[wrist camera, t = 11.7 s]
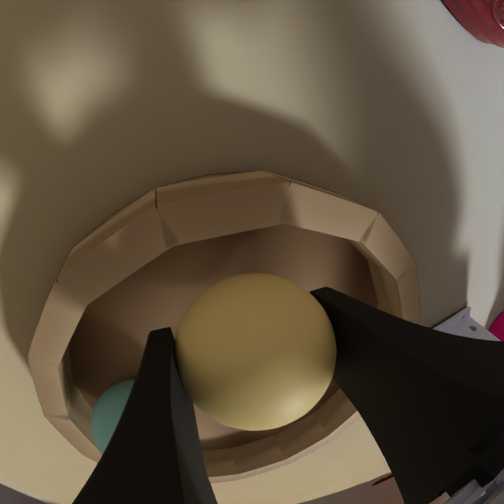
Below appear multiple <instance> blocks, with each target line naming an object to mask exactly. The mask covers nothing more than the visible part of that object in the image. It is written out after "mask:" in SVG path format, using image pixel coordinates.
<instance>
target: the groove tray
mask: <svg viewBox="0 0 504 504" xmlns="http://www.w3.org/2000/svg"><path fill="white" fill-rule="evenodd" d="M245 273H265V274H272V275H276V276H279V277H282V278H285V279H288V280H290V281H292V282H294V283H296V284H298V285H299V286H301V287H303V288H304V289H305V290H307V291H308V292H309V293H310V291H312V290H316V289H319V288H323V287H326V286H327V287H329V288H332V289H334V290H337V291H339V292H342V293H344V294H346V295H348V296H350V297H353V298H355V299H357V300H359V301H361V302H364V303H366V304H368V305H370V306H373V307H375V308H377V309H380V310H382V311H384V312H387V313H389V314H392V315H394V316H396V317H399V318H402V319H404V320H407V321H410V322H412V323H415V324H417V322H418V319H419V316H420V302H419V288H418V277H417V267H416V262H415V260H414V258H413V257H412V255H411V254H410V252H409V251H408V250H407V248H406V247H405V246H404V244H403V243H402V241H401V240H400V239H399V237H398V236H397V235H396V233H395V232H394V231H393V229H392V228H391V227H390V226H389V224H388V223H387V222H386V220H385V219H384V218H383V217H382V215H381V214H380V213H379V212H378V211H375V210H373V209H371V208H369V207H367V206H365V205H363V204H360V203H358V202H356V201H354V200H351V199H349V198H347V197H345V196H342V195H339V194H337V193H334V192H331V191H328V190H325V189H322V188H319V187H316V186H313V185H310V184H307V183H305V182H302V181H300V180H295V179H291V178H288V177H284V176H281V175H278V174H274V173H271V172H268V171H264V170H259V171H252V172H235V173H223V174H212V175H205V176H201V177H197V178H192V179H188V180H184V181H180V182H176V183H173V184H170V185H168V186H163V187H158V188H156V190H155V189H153V190H152V191H150V192H149V193H147V194H146V195H144V196H141V197H140V198H138V199H136V200H135V201H133V202H131V203H130V204H128V205H127V206H125V207H123V208H122V209H120V210H118V211H117V212H115V213H114V214H112V215H111V216H110V217H109V218H108V219H106V220H105V221H104V222H103V223H102V224H101V225H99V226H98V227H97V228H96V229H95V230H94V231H93V232H91V233H90V234H89V235H88V236H87V237H86V238H85V239H84V240H83V241H81V242H80V243H79V244H78V245H76V246H75V247H74V248H73V249H72V250H71V252H70V253H69V255H68V257H67V259H66V261H65V262H64V264H63V266H62V268H61V270H60V272H59V274H58V276H57V278H56V280H55V282H54V284H53V286H52V289H51V291H50V294H49V296H48V299H47V301H46V304H45V306H44V309H43V312H42V314H41V317H40V320H39V323H38V325H37V328H36V331H35V334H34V337H33V340H32V343H31V346H30V350H29V353H28V357H27V358H28V362H29V366H30V370H31V374H32V378H33V382H34V385H35V389H36V392H37V395H38V399H39V402H40V405H41V408H42V411H43V414H44V415H45V417H46V418H47V419H48V421H49V422H50V423H51V424H52V425H53V426H54V427H55V428H56V429H57V430H58V431H59V432H60V433H61V434H62V435H63V436H64V437H65V438H66V439H67V440H68V441H69V442H70V443H71V444H72V445H73V446H74V447H75V448H76V449H77V450H78V451H79V452H80V453H81V454H82V455H84V456H86V457H88V458H90V459H92V460H94V461H96V462H99V460H100V458H101V456H102V454H101V453H100V451H99V450H98V448H97V446H96V444H95V442H94V439H93V436H92V431H91V416H92V411H93V408H94V405H95V403H96V402H97V400H98V398H99V397H100V396H101V395H102V394H103V393H104V392H105V391H106V390H107V389H108V388H110V387H111V386H113V385H115V384H117V383H120V382H122V381H126V380H134V379H135V378H136V375H137V372H138V369H139V366H140V363H141V359H142V356H143V353H144V349H145V345H146V342H147V337H148V334H149V333H150V331H152V330H157V329H162V328H166V327H171V330H172V333H173V336H174V339H176V334H177V330H178V327H179V324H180V322H181V320H182V317H183V315H184V314H185V312H186V310H187V309H188V307H189V306H190V305H191V303H192V302H193V301H194V300H195V299H196V298H197V297H198V296H199V295H200V294H201V293H202V292H203V291H204V290H206V289H207V288H209V287H210V286H212V285H213V284H215V283H217V282H219V281H221V280H223V279H226V278H228V277H232V276H235V275H240V274H245ZM193 404H194V403H193ZM194 410H195V416H196V422H197V428H198V433H199V439H200V444H201V450H202V455H203V460H204V464H205V468H206V472H207V475H208V478H209V481H210V483H219V482H228V481H236V480H240V479H244V478H248V477H251V476H254V475H258V474H261V473H264V472H267V471H271V470H274V469H277V468H279V467H282V466H285V465H288V464H290V463H292V462H294V461H296V460H298V459H300V458H302V457H304V456H305V455H307V454H309V453H311V452H313V451H314V450H316V449H318V448H320V447H321V446H323V445H325V444H327V443H328V442H330V441H332V440H333V439H334V438H336V437H337V436H339V435H340V434H341V433H342V432H343V431H345V430H346V429H347V428H348V427H349V426H350V425H352V424H353V423H354V422H355V421H356V420H357V419H358V418H360V417H361V415H360V414H359V412H358V411H357V409H356V408H355V407H354V405H353V404H352V403H351V401H350V400H349V399H348V397H347V396H346V395H345V394H344V392H343V391H342V390H341V388H340V387H339V386H338V384H337V383H336V382H335V380H334V379H333V378H332V379H331V382H330V384H329V386H328V388H327V390H326V391H325V393H324V395H323V396H322V397H321V399H320V400H319V401H318V402H317V403H316V405H315V406H314V407H313V408H312V409H311V410H310V411H308V412H307V413H306V414H305V415H303V416H302V417H300V418H298V419H297V420H295V421H293V422H291V423H289V424H287V425H284V426H281V427H278V428H274V429H269V430H258V431H250V430H242V429H237V428H232V427H230V426H227V425H224V424H222V423H219V422H217V421H216V420H214V419H212V418H211V417H209V416H207V415H206V414H205V413H204V412H202V411H201V410H200V409H199V408H198V407H197V406H196V405H195V404H194Z"/></svg>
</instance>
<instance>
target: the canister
mask: <svg viewBox="0 0 504 504" xmlns="http://www.w3.org/2000/svg"><path fill="white" fill-rule="evenodd" d="M442 1H443V2H444V3H445V5H446V6H447V7H448V9H449V10H450V11H451V13H452V14H453V15H454V16H455V17H456V19H457V20H458V21H459V22H460V23H461V24H462V25H463V27H464V28H465V29H466V30H467V31H468V32H469V33H471V34H472V35H473V36H474V37H475V38H477V39H478V40H480V41H481V42H483V43H486V44H493V45H496V46H498V47H501V48H504V0H442Z"/></svg>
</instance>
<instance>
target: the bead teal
mask: <svg viewBox="0 0 504 504" xmlns="http://www.w3.org/2000/svg"><path fill="white" fill-rule="evenodd" d="M134 381H135V379H134V380H126V381H122V382H120V383H117V384H115V385H113V386H111V387H110V388H108V389H107V390H106V391H105V392H104V393H103V394H102V395H101V396H100V397H99V398H98V400H97V402H96V403H95V405H94V408H93V411H92V416H91V431H92V436H93V439H94V442H95V444H96V446H97V448H98V450H99V451H100V453H101V454H103V453H104V451H105V449H106V447H107V445H108V443H109V441H110V439H111V437H112V435H113V433H114V431H115V428H116V426H117V424H118V422H119V419H120V417H121V415H122V412H123V410H124V407H125V405H126V402H127V400H128V397H129V395H130V392H131V389H132V387H133V384H134Z"/></svg>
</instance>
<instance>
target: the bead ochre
mask: <svg viewBox="0 0 504 504" xmlns="http://www.w3.org/2000/svg"><path fill="white" fill-rule="evenodd" d="M175 352H176V358H177V364H178V369H179V373H180V377H181V381H182V384H183V387H184V389H185V391H186V394H187V395H188V396H189V398H190V399H191V400H192V401H193V403H194V404H195V405H196V406H197V407H198V408H199V409H200V410H201V411H202V412H204V413H205V414H206V415H207V416H209V417H211V418H212V419H214V420H216V421H217V422H219V423H222V424H224V425H227V426H230V427H232V428H237V429H242V430H250V431H258V430H269V429H274V428H278V427H281V426H284V425H287V424H289V423H291V422H293V421H295V420H297V419H298V418H300V417H302V416H303V415H305V414H306V413H307V412H308V411H310V410H311V409H312V408H313V407H314V406H315V405H316V403H317V402H318V401H319V400H320V399H321V397H322V396H323V395H324V393H325V391H326V390H327V388H328V386H329V384H330V382H331V379H332V376H333V373H334V369H335V365H336V353H337V348H336V339H335V334H334V331H333V327H332V324H331V321H330V319H329V318H328V316H327V314H326V312H325V310H324V309H323V307H322V306H321V305H320V303H319V302H318V301H317V300H316V299H315V298H314V297H313V296H312V295H311V294H310V293H309V292H308V291H307V290H305V289H304V288H303V287H301V286H299V285H298V284H296V283H294V282H292V281H290V280H288V279H285V278H282V277H279V276H276V275H272V274H265V273H245V274H240V275H235V276H232V277H228V278H226V279H223V280H221V281H219V282H217V283H215V284H213V285H212V286H210V287H209V288H207V289H206V290H204V291H203V292H202V293H201V294H200V295H199V296H198V297H197V298H196V299H195V300H194V301H193V302H192V303H191V305H190V306H189V307H188V309H187V310H186V312H185V314H184V315H183V317H182V320H181V322H180V324H179V327H178V330H177V334H176V339H175Z"/></svg>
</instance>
